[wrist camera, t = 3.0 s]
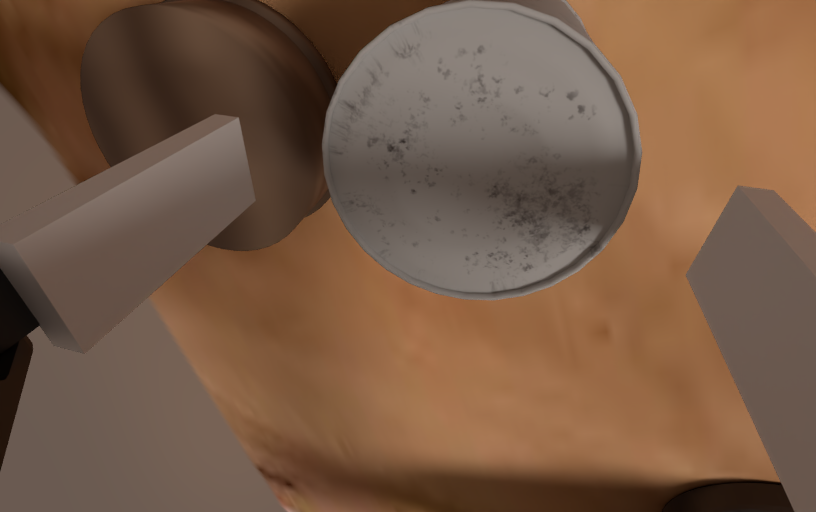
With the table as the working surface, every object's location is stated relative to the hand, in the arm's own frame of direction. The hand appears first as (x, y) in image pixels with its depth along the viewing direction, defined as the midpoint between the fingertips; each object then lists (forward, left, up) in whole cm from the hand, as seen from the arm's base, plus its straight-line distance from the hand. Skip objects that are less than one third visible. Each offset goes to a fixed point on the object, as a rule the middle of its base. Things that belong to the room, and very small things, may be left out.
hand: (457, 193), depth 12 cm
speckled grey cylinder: (0, 0, -14) cm, 14 cm away
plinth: (+16, +4, -14) cm, 21 cm away
